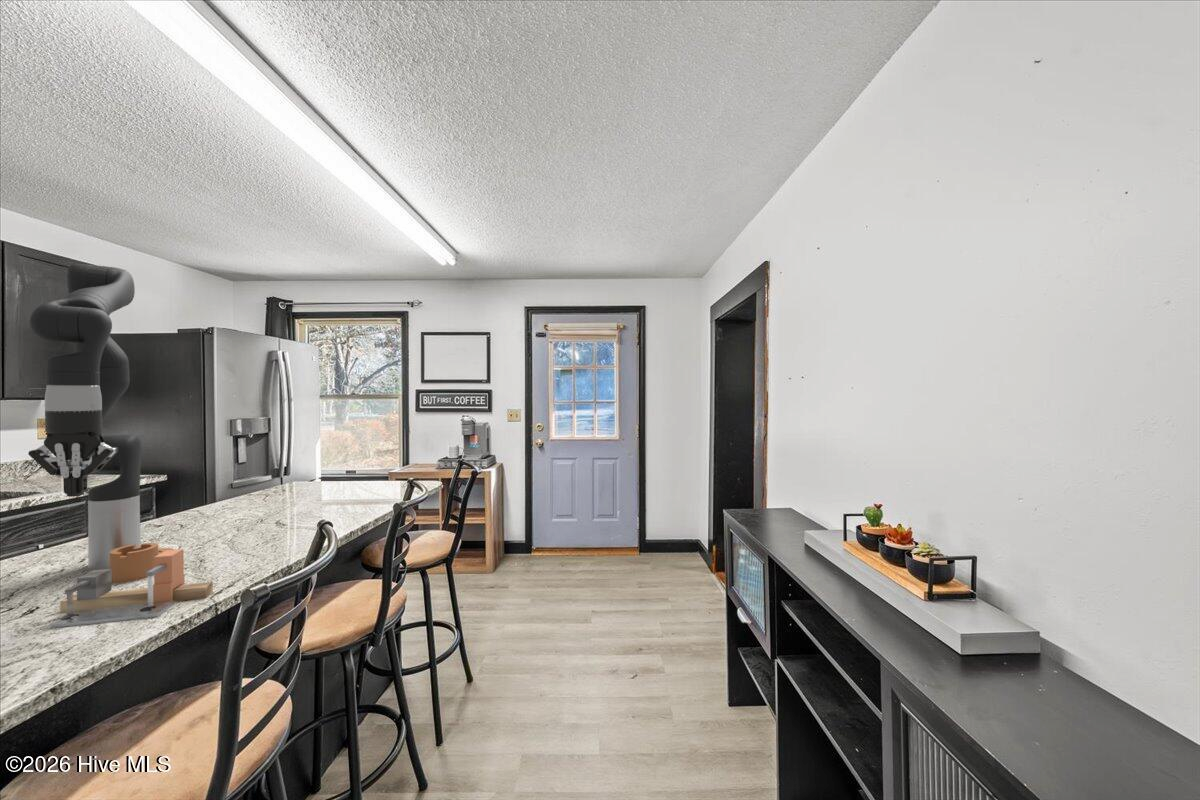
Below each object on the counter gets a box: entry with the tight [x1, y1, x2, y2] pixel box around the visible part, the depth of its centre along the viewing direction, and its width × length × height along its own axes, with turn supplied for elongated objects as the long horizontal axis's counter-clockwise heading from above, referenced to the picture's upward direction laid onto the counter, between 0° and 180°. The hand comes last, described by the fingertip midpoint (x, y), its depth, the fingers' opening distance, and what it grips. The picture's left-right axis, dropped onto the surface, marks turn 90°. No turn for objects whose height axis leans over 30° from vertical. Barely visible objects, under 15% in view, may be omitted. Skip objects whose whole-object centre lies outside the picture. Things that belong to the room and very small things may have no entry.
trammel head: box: [146, 548, 186, 607], centre depth 98 cm, size 10×3×10 cm, turn 17°
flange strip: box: [49, 601, 176, 629], centre depth 92 cm, size 6×16×1 cm, turn 107°
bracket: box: [110, 542, 175, 583], centre depth 118 cm, size 18×8×7 cm, turn 25°
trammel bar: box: [59, 569, 214, 616], centre depth 96 cm, size 9×24×7 cm, turn 107°
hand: (75, 495), depth 93 cm, fingers closed
